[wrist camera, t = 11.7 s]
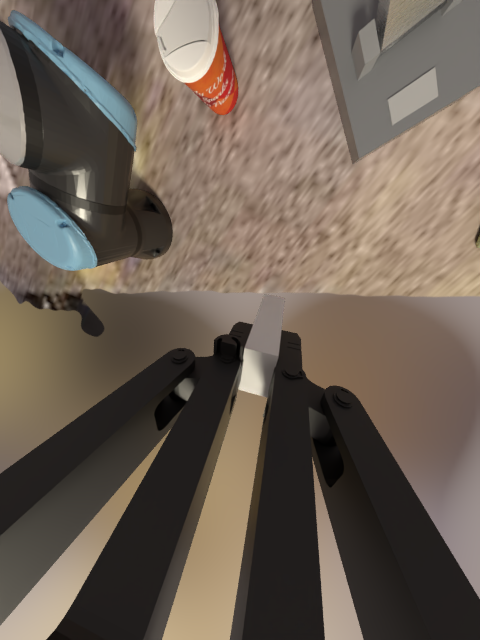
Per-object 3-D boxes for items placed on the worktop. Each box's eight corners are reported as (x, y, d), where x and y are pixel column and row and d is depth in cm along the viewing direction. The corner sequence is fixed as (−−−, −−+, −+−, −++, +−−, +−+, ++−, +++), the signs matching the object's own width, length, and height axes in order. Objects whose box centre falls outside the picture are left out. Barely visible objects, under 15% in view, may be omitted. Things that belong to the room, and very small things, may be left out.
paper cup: (212, 133, 35) (171, 92, 24) (194, 78, 33) (136, 0, 21) (251, 106, 32) (226, 45, 21) (235, 43, 30) (195, -71, 18)
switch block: (462, 98, 27) (513, 62, 20) (352, 164, 33) (366, 152, 26) (444, -127, 20) (511, -278, 14) (312, 7, 26) (317, -58, 20)
